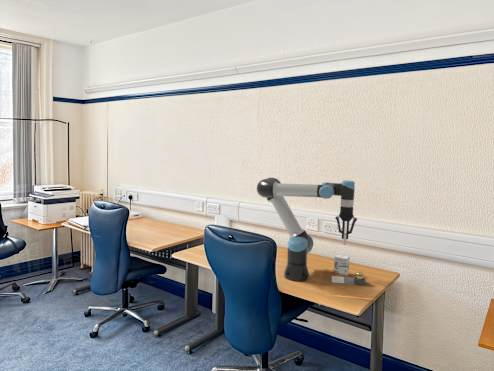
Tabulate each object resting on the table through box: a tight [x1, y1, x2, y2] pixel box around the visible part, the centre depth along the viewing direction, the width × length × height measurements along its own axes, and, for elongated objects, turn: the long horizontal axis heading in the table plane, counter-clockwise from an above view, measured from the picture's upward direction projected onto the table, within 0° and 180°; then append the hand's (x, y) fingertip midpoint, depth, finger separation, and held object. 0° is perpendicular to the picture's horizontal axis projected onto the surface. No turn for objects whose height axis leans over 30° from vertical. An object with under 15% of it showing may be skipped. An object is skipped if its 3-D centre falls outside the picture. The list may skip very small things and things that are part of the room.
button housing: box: [353, 275, 366, 286], centre depth 219 cm, size 6×6×3 cm
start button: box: [355, 271, 365, 280], centre depth 219 cm, size 4×4×6 cm
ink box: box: [333, 254, 350, 276], centre depth 235 cm, size 9×5×12 cm, turn 62°
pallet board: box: [330, 275, 366, 286], centre depth 223 cm, size 19×11×1 cm, turn 79°
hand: (344, 244), depth 231 cm, fingers closed
